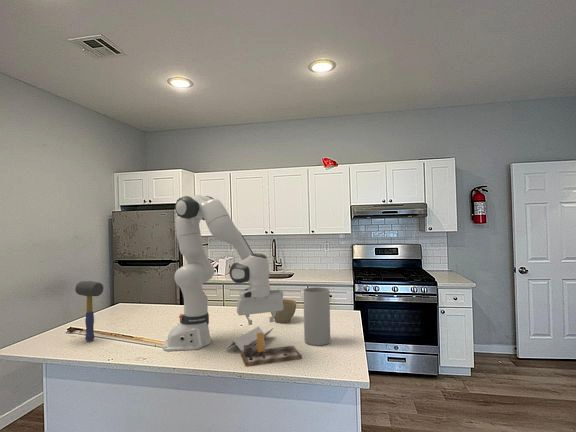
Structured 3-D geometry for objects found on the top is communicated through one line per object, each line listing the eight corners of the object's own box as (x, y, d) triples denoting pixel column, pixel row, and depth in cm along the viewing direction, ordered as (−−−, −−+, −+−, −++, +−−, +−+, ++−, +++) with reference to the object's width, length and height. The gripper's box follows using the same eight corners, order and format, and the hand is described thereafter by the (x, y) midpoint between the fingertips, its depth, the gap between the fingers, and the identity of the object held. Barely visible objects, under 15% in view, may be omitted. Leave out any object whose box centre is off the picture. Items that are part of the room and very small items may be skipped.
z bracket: (233, 360, 153) (225, 349, 155) (258, 343, 176) (250, 334, 178) (251, 342, 150) (242, 331, 152) (273, 328, 174) (265, 318, 175)
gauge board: (245, 366, 139) (245, 354, 139) (240, 355, 150) (240, 344, 150) (301, 358, 146) (301, 346, 146) (293, 348, 157) (292, 337, 157)
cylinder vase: (303, 345, 161) (302, 292, 161) (305, 336, 173) (305, 287, 174) (329, 346, 159) (328, 292, 159) (330, 337, 171) (329, 287, 172)
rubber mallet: (74, 342, 171) (73, 281, 172) (87, 337, 178) (87, 279, 179) (92, 345, 167) (91, 283, 167) (105, 340, 174) (104, 280, 174)
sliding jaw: (260, 358, 142) (260, 339, 142) (256, 350, 150) (256, 332, 151) (267, 357, 143) (267, 338, 143) (262, 349, 151) (262, 332, 151)
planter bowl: (287, 326, 191) (287, 306, 191) (263, 322, 199) (263, 303, 199) (301, 319, 204) (301, 300, 205) (279, 315, 213) (278, 298, 213)
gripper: (280, 287, 155) (282, 318, 155) (235, 292, 149) (236, 324, 149) (284, 290, 149) (286, 322, 149) (237, 294, 143) (239, 328, 143)
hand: (261, 323), depth 149 cm, fingers open, 8 cm apart
